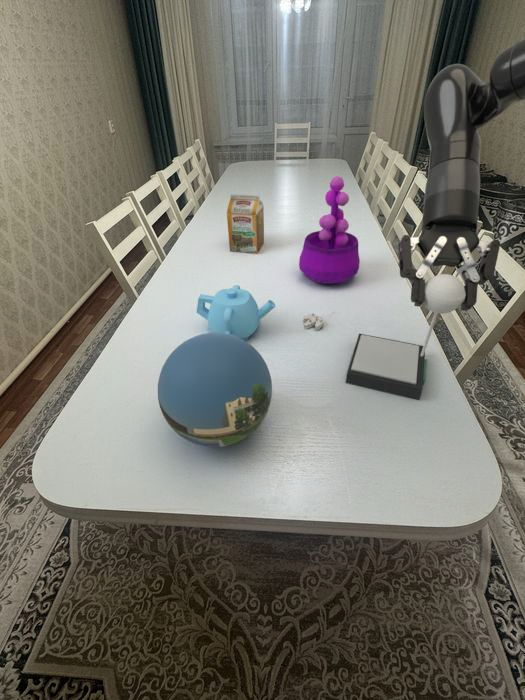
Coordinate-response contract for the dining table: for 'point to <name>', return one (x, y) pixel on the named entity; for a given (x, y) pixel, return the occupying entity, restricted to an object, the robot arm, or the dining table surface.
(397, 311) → the dining table surface
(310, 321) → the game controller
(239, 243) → the milk carton
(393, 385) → the scale
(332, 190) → the decorative plant
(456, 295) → the lollipop
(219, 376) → the decorative sphere
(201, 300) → the teapot
